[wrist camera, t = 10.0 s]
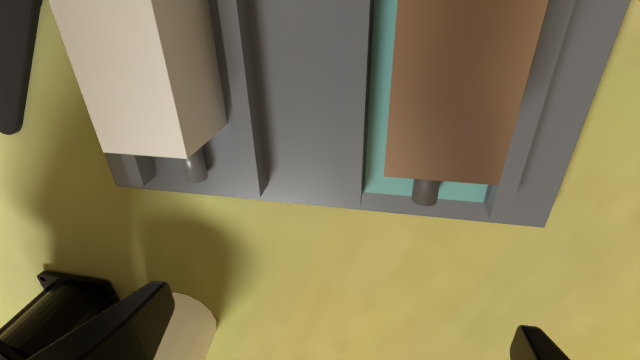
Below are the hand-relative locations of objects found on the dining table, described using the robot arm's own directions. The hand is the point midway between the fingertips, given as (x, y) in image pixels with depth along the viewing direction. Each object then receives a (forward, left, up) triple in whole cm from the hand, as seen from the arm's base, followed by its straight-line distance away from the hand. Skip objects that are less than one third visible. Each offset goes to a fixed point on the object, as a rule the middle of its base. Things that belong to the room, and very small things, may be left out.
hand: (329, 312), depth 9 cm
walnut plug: (+3, +4, -10) cm, 11 cm away
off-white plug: (-9, +4, -10) cm, 14 cm away
